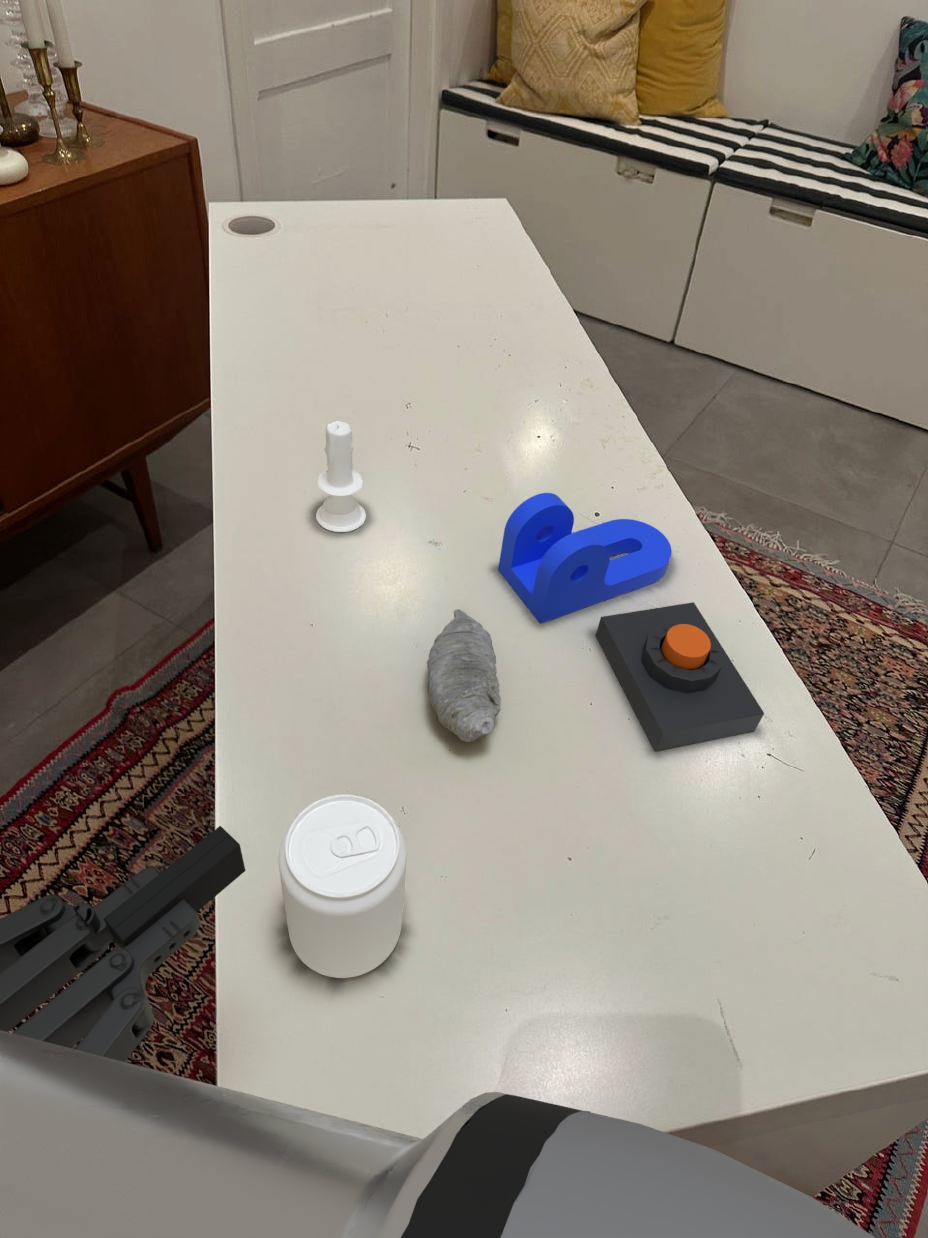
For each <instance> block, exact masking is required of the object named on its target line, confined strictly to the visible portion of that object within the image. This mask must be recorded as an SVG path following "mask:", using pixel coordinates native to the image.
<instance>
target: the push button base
mask: <svg viewBox="0 0 928 1238" xmlns="http://www.w3.org/2000/svg"><path fill="white" fill-rule="evenodd" d="M679 624H688V625H692V626H695V627H697V628H699V629H701V630H702V631H703V632H705V633H706V635H707V636H708V637H709V639H710V642H711V648H710V651H709V653H708V655H707V657H706V660H705V662H704V663H703V665H702V666H700V667H698V668H696V669H691V670H687V669H683V668H679V667H676V666H674V665H673V664H671V663H670V662H668V661H667V660H666V658H665V657H664V655H663V653H662V645H663V642H664V640H665V637H666V634H667V632H668V630H669V629H670V628H671V627H673V626H675V625H679ZM595 637H596V639H597V642H598V643H599V645H600V647H601V649H602V651H603V653H604V655H605V657H606V659H607V660H608V663H609V664H610V666H611V668H612V670H613V673H614V674H615V676H616V678H617V681H618V682H619V684H620V686H621V688H622V690H623V693H625V696H626V698H627V699H628V701H629V703H630V705H631V708H632V709H633V712H634V713H635V715H636V717H637V720H638V721H639V723H640V725H641V728H642V729H643V731H644V732H645V734H646V737H647V739H648V740H649V742H650V744H651V747H652V749H653V750H654V752H659V751H664V750H669V749H673V748H679V747H683V746H689V745H693V744H698V743H703V742H708V741H709V742H710V741H713V740H717V739H723V738H728V737H732V736H738V735H743V734H748V733H752V732H755V731H756V729H757V727H758V726H759V724H760V722H761V720H762V718H763V717H764V715H765V712H764V711H763V709H762V707H761V706H760V704H759V703H758V700H757V699H756V698H755V696H754V694H753V693H752V691H751V690H750V688H749V687H748V685H747V683H746V682H745V680H744V679H743V677H742V675H741V674H740V673H739V671H738V669H737V668H736V666H735V664H734V663H733V662H732V660H731V658H730V657H729V655H728V654H727V651H726V650H725V649H724V647H723V646H722V644H721V643H720V641H719V639H718V638H717V637H716V635H715V633H714V632H713V630H712V628H711V626H710V625H709V624H708V622H707V620H706V619H705V618H704V616H703V614H702V613H701V611H700V610H699V608H698V607H697V605H696V603H695V601H693V602H686V603H681V604H680V603H679V604H673V605H668V606H661V607H656V608H655V607H654V608H647V609H642V610H636V611H629V612H623V613H615V614H611V615H604V616H600V619H599V623H598V626H597V629H596V633H595Z"/></svg>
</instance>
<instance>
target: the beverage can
mask: <svg viewBox="0 0 928 1238" xmlns="http://www.w3.org/2000/svg"><path fill="white" fill-rule="evenodd" d="M407 851H408V850H407V844H406V841H405V837H404V834H403V832H402V830H401V828H400V826H399V825H398V823H397V822H396V820H395V819H394V818H393V816H391V815H390V814H389V812H388V811H387V810H386V809H385V808H384V807H383V806H381V804H379V803H377V802H375V801H373V800H371V799H369V798H367V797H363V796H361V795H356V794H346V793H345V794H344V793H343V794H335V795H329V796H326V797H323V798H321V799H318V800H316V801H314V802H312V803H311V804H309V805H308V806H306V807H305V808H304V809H302V810H301V811H300V813H298V815H297V816H296V817H295V818H294V819H293V821H292V822H291V824H290V826H289V827H288V829H287V830H286V831H285V833H284V835H283V838H282V841H281V843H280V846H279V852H278V870H279V871H278V872H279V878H280V885H281V891H282V898H283V905H284V910H285V917H286V923H287V924H286V925H287V932H288V936H289V940H290V944H291V947H292V948H293V950H294V952H295V954H296V956H297V957H298V958H299V959H300V961H301V962H302V963H303V964H304V965H305V966H307V967H308V968H309V969H310V970H312V971H314V972H316V973H318V974H319V975H323V976H325V977H329V978H336V979H346V978H347V979H348V978H355V977H358V976H361V975H364V974H367V973H369V972H371V971H373V970H374V969H376V968H377V967H380V965H381V964H382V963H384V962H385V961H386V960H387V959H388V957H390V955H392V952H393V951H394V949H395V948H396V946H397V944H398V942H399V939H400V937H401V936H400V935H401V932H402V925H403V914H404V899H405V887H406V886H405V885H406V874H407V873H406V872H407V871H406V870H407V856H408V853H407Z"/></svg>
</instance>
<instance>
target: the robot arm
mask: <svg viewBox="0 0 928 1238" xmlns="http://www.w3.org/2000/svg"><path fill="white" fill-rule="evenodd" d="M245 872H246V867H245V863H244V857H243V853H242V848H241V844H240V843H239V842H238V841H237V840H236V839H235V838H234V837H233V836H232V835H231V834H230V833H229V832H228V831H227V830H226V829H224V828H223V827H222V825H219V826H218V827H216V828H215V829H214V830H213V831H211V833H209V834H208V835H207V836H206V837H204V838H203V839H201V841H199V842H198V843H196V844H195V845H194V846H193V847H192V848H190V849H189V850H188V851H187V852H185V853H184V854H183V855H182V856H180V857H179V858H177V860H175V861H174V862H173V863H171V865H169V866H168V867H166V868H165V869H164V870H163V871H162V872H159V871H158V870H157V868H155V866H153V865H151V866H148V867H146V868H143V869H141V870H140V871H138V872H137V873H136V874H134V875H133V876H132V877H130V878H129V879H128V880H126V881H125V882H123V884H122V885H120V886H119V887H118V888H116V889H115V890H114V891H113V892H111V893H110V894H109V895H107V896H106V897H105V898H103V899H102V900H101V901H100V902H99V903H97V904H96V905H94V906H93V905H91V903H88V902H78V903H75V904H74V905H72V904H70V903H67V902H65V901H63V899H62V898H61V897H60V896H59V895H56V894H47V895H44V896H42V897H40V898H38V899H37V900H34V901H32V902H30V903H28V904H27V905H24V906H22V907H21V908H18V909H16V910H15V911H13V912H10V913H8V914H6V915H4V916H3V917H0V1238H876V1237H875V1236H874V1235H872V1234H871V1233H869V1232H867V1230H864V1229H863V1228H861V1227H859V1226H858V1225H857V1224H855V1223H854V1222H852V1221H850V1220H849V1219H847V1218H845V1217H844V1216H842V1215H840V1213H838V1212H836V1211H834V1210H833V1209H832V1208H830V1207H829V1206H826V1204H824V1203H822V1202H820V1201H818V1200H817V1199H815V1198H814V1197H812V1196H810V1195H808V1194H806V1193H804V1192H802V1191H800V1190H798V1189H796V1188H794V1187H792V1186H790V1185H788V1184H785V1183H783V1182H781V1181H780V1180H777V1179H776V1178H774V1177H771V1176H769V1175H767V1174H765V1173H763V1172H761V1171H759V1170H758V1169H757V1170H756V1169H755V1168H753V1167H751V1166H748V1165H747V1164H744V1163H742V1162H740V1161H738V1160H736V1159H734V1158H732V1157H730V1156H728V1155H726V1154H724V1153H722V1152H720V1151H718V1150H716V1149H714V1148H711V1147H708V1146H705V1145H703V1144H700V1143H696V1142H693V1141H691V1140H688V1139H685V1138H682V1137H680V1136H676V1135H673V1134H672V1133H671V1134H670V1133H668V1132H666V1131H663V1130H659V1129H656V1128H653V1127H651V1126H648V1125H645V1124H642V1123H638V1122H634V1121H630V1120H626V1119H621V1118H617V1117H613V1116H608V1115H603V1114H600V1113H595V1112H591V1111H590V1110H581V1109H577V1108H572V1107H569V1106H564V1105H560V1104H554V1103H550V1102H546V1101H541V1100H537V1099H532V1098H527V1097H523V1096H519V1095H515V1094H508V1093H504V1092H501V1091H490V1092H483V1093H481V1094H479V1095H477V1096H475V1097H473V1098H470V1099H469V1100H467V1102H465V1103H464V1104H463V1105H462V1106H460V1107H459V1108H458V1109H456V1111H454V1112H453V1113H452V1114H451V1115H450V1116H449V1117H448V1118H446V1119H445V1120H444V1121H443V1122H441V1123H440V1124H439V1125H438V1126H437V1127H436V1128H435V1129H434V1130H432V1132H430V1133H429V1134H427V1136H425V1137H423V1138H421V1137H417V1136H413V1135H409V1134H405V1133H402V1132H397V1131H394V1130H390V1129H385V1128H382V1127H378V1126H374V1125H370V1124H367V1123H362V1122H358V1121H354V1120H351V1119H347V1118H343V1117H339V1116H334V1115H332V1114H327V1113H323V1112H320V1111H316V1110H312V1109H308V1108H304V1107H300V1106H296V1105H293V1104H288V1103H284V1102H281V1101H277V1100H273V1099H269V1098H265V1097H262V1096H258V1095H254V1094H250V1093H246V1092H243V1091H238V1090H235V1089H230V1088H226V1087H222V1086H219V1085H216V1084H215V1085H214V1084H211V1083H207V1082H203V1081H199V1080H196V1079H191V1078H187V1077H183V1076H180V1075H176V1074H172V1073H169V1072H164V1071H160V1070H157V1069H153V1068H148V1067H145V1066H141V1065H138V1064H133V1063H129V1062H127V1060H128V1059H129V1058H130V1056H131V1055H132V1054H133V1052H134V1051H135V1050H136V1048H137V1047H138V1045H139V1044H140V1043H141V1041H142V1040H143V1039H144V1037H145V1036H146V1035H147V1033H148V1032H149V1031H150V1030H151V1028H152V1026H153V1025H154V1021H155V1015H154V1012H153V1010H152V1007H151V1003H150V1001H149V1000H150V999H149V997H148V994H147V989H146V983H147V981H148V978H149V977H150V975H151V974H152V973H153V972H154V971H156V970H157V969H158V968H159V967H160V966H161V965H162V964H163V963H164V962H166V961H167V960H168V959H169V958H171V956H173V955H174V954H175V953H176V952H177V951H178V950H179V949H180V948H182V947H183V946H184V945H185V944H186V943H188V942H189V941H190V940H191V939H192V938H193V937H195V935H196V934H197V932H198V931H199V929H200V927H201V925H202V923H201V921H200V917H199V914H198V912H199V911H200V910H201V909H203V908H204V907H205V906H206V905H207V904H208V903H210V902H211V901H213V899H214V898H215V897H217V896H218V895H220V893H222V892H223V891H224V890H225V889H226V888H227V887H228V886H230V885H231V884H232V883H233V882H235V880H237V879H238V878H239V877H241V875H242V874H244V873H245ZM113 940H114V942H115V944H116V945H117V946H118V948H114V949H113V950H112V951H110V952H108V953H107V954H106V955H105V956H104V957H102V958H100V957H101V956H102V955H104V953H105V952H106V951H107V950H108V949H109V945H110V943H111V942H112V941H113ZM98 958H100V960H99V961H97V962H96V963H95V964H94V965H93V966H91V967H90V968H89V969H88V970H86V971H85V972H84V973H83V974H82V975H80V976H79V977H78V978H77V979H76V980H74V981H73V982H72V983H70V984H69V985H68V983H69V982H71V981H72V980H73V979H74V978H75V977H77V976H78V975H79V974H80V973H81V972H83V971H84V970H85V969H87V968H88V967H89V966H90V965H92V963H94V962H95V961H96V960H97V959H98ZM66 985H68V986H67V987H66V988H64V989H63V990H62V991H61V992H59V994H57V995H56V996H55V997H54V998H52V996H54V995H55V994H56V993H57V992H58V991H60V990H61V989H62V988H63V987H65V986H66ZM50 998H52V999H51V1000H50V1001H49V1002H47V1003H46V1004H45V1005H44V1006H42V1007H41V1008H40V1009H39V1010H37V1009H38V1008H39V1007H40V1006H41V1005H43V1004H44V1003H45V1002H46V1001H48V1000H49V999H50ZM35 1010H37V1012H35V1013H34V1014H33V1015H32V1016H31V1017H29V1015H30V1014H32V1013H33V1012H34V1011H35ZM27 1017H29V1018H28V1019H27V1020H25V1022H23V1023H22V1024H21V1025H19V1026H18V1024H20V1023H21V1022H22V1021H24V1019H26V1018H27ZM16 1026H18V1027H17V1028H16V1029H15V1030H13V1031H12V1029H14V1028H15V1027H16ZM10 1031H12V1032H10ZM75 1046H76V1047H75Z"/></svg>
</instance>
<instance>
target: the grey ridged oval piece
mask: <svg viewBox="0 0 928 1238" xmlns="http://www.w3.org/2000/svg"><path fill="white" fill-rule="evenodd" d="M496 663H497V656H496V654H495V651H494V646H493V640H492V637H491V634H490V633H489V631H487V629H485V628H484V627H483V625H482V624H481V623H480V622H479V621H477V620H476V619H474V618H473V617H471V616H469V615H468V614H467V612H465V611H463V610H461V609H459V608H457V609H455V610H453V619H451V620H450V621H449V622H448V623H447V624H446V625H445V626H444V628H443V629H442V631H441V632H440V633H439V634H438V635H437V636H436V637H435V639H434V641H433V645H432V646H431V647H430V650H429V653H428V659H427V661H426V667H427V673H428V676H429V678H428V683H427V684H428V685H427V687H428V690H429V693H428V694H429V695H428V697H429V698H428V702H429V703H430V704H431V705H432V707H433V710H434V711H435V713H436V715H437V719H438V722H439V723H440V725H442V726H443V727H444V728H446V729H448V730H449V731H450V732H452V733H453V734H454V735H455V736H457V737H458V739H460V740H461V741H462V742H466V743H472V742H474V741H476V740H478V739H479V738H481V737H483V736H486V735H488V734H491V733H493V732H494V730H495V727H496V726H495V718H496V717H497V716H498V715H499V713H500V711H501V706H502V705H501V703H502V701H501V700H502V698H501V694H500V689H499V687H500V683H499V678H498V676H497V673H498V671H497V666H496V665H497V664H496Z"/></svg>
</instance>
